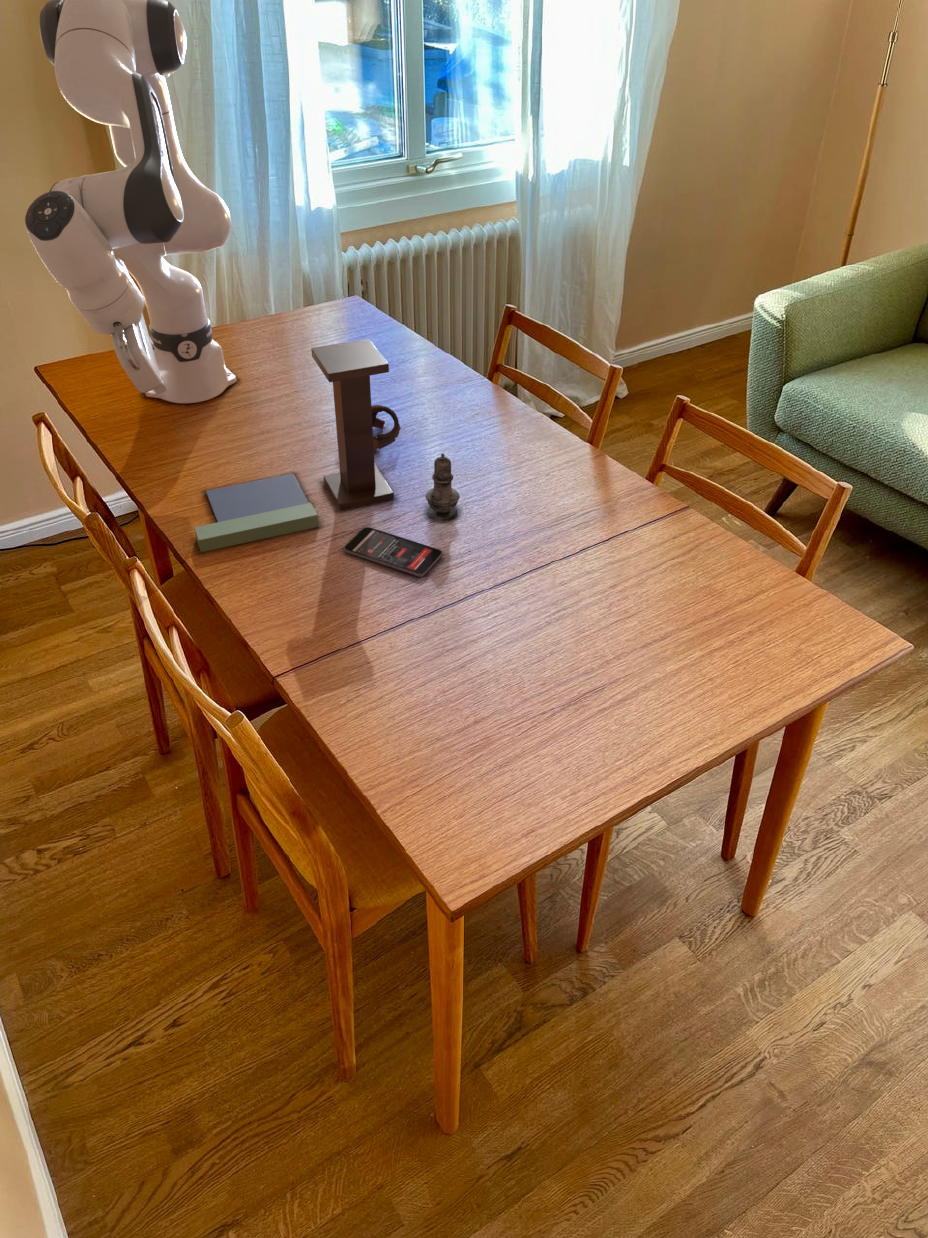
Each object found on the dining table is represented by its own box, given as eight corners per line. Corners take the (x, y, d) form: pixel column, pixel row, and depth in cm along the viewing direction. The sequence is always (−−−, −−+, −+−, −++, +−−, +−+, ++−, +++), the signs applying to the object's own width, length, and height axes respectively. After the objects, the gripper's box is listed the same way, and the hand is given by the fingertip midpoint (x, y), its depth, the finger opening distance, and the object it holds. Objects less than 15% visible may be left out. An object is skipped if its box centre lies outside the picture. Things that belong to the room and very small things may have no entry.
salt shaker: (447, 526, 162) (448, 466, 154) (419, 515, 164) (418, 455, 157) (465, 510, 166) (467, 450, 158) (437, 499, 168) (437, 440, 160)
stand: (323, 482, 172) (311, 347, 155) (376, 471, 175) (369, 338, 158) (340, 511, 165) (328, 373, 148) (394, 499, 168) (388, 363, 151)
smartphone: (422, 575, 150) (342, 548, 155) (422, 578, 151) (342, 552, 156) (443, 550, 155) (365, 525, 160) (443, 554, 156) (365, 529, 161)
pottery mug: (397, 428, 188) (405, 405, 181) (391, 468, 184) (399, 446, 177) (337, 414, 186) (343, 390, 178) (330, 454, 182) (336, 432, 175)
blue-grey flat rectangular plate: (205, 492, 169) (205, 490, 169) (293, 474, 174) (293, 472, 173) (218, 525, 161) (218, 523, 161) (309, 506, 166) (309, 504, 166)
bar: (196, 539, 158) (193, 527, 157) (312, 514, 164) (310, 502, 163) (200, 552, 155) (198, 540, 154) (318, 526, 161) (317, 514, 160)
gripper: (144, 341, 130) (187, 406, 142) (118, 251, 140) (161, 319, 152) (101, 359, 130) (149, 423, 142) (79, 267, 140) (125, 334, 152)
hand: (155, 368), depth 147 cm, fingers open, 8 cm apart
